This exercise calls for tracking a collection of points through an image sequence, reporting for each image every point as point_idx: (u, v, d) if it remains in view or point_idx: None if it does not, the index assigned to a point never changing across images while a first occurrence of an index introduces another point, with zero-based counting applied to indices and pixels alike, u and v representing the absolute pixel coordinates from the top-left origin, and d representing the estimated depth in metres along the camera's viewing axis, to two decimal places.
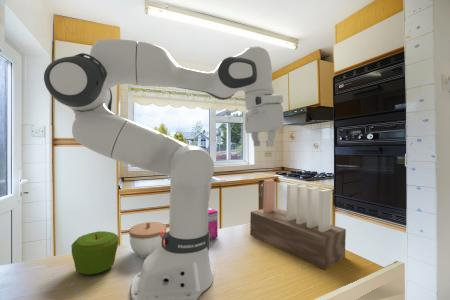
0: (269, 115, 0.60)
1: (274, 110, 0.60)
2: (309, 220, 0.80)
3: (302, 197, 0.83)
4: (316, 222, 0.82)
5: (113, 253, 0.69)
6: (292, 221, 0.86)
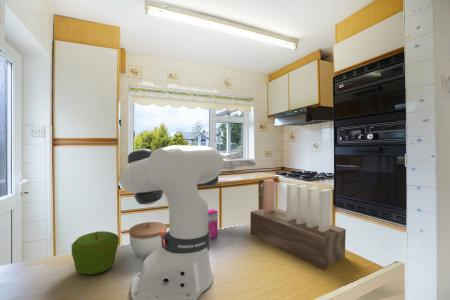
0: None
1: None
2: (309, 220, 0.80)
3: (302, 197, 0.83)
4: (316, 222, 0.82)
5: (113, 253, 0.69)
6: (292, 221, 0.86)
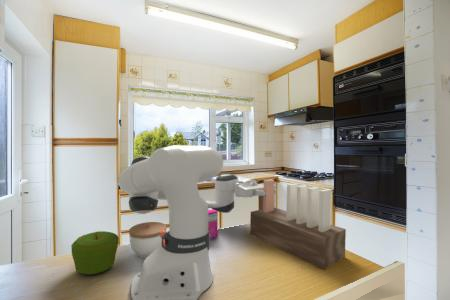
0: (240, 196, 0.99)
1: (239, 192, 1.00)
2: (309, 220, 0.80)
3: (302, 197, 0.83)
4: (316, 222, 0.82)
5: (113, 253, 0.69)
6: (292, 221, 0.86)
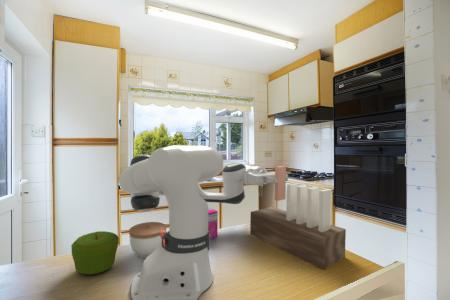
0: (251, 183, 0.94)
1: (248, 179, 0.95)
2: (309, 220, 0.80)
3: (302, 197, 0.83)
4: (316, 222, 0.82)
5: (113, 253, 0.69)
6: (292, 221, 0.86)
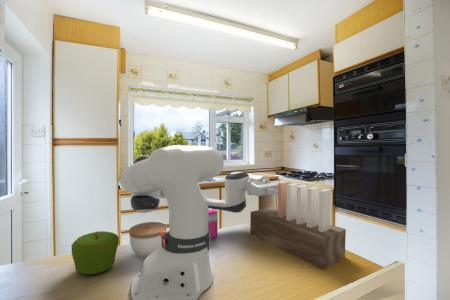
0: (253, 194, 0.93)
1: (251, 190, 0.94)
2: (309, 220, 0.80)
3: (302, 197, 0.83)
4: (316, 222, 0.82)
5: (113, 253, 0.69)
6: (292, 221, 0.86)
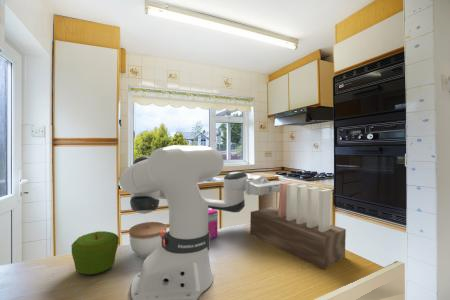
0: None
1: (250, 189, 0.95)
2: (309, 220, 0.80)
3: (302, 197, 0.83)
4: (316, 222, 0.82)
5: (113, 253, 0.69)
6: (292, 221, 0.86)
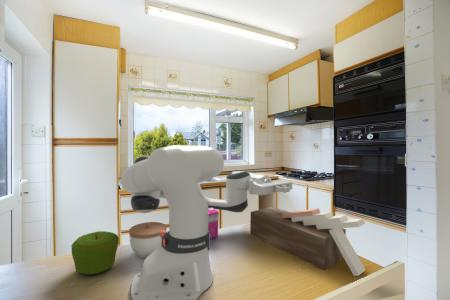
0: None
1: (253, 189, 0.93)
2: (323, 227, 0.76)
3: None
4: None
5: (113, 253, 0.69)
6: None
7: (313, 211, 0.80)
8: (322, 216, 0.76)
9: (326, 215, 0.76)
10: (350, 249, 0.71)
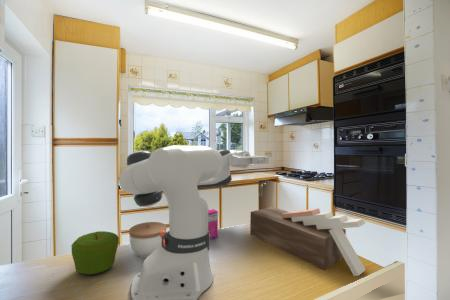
0: (234, 165, 1.03)
1: (232, 161, 1.04)
2: (323, 227, 0.76)
3: None
4: None
5: (113, 253, 0.69)
6: None
7: (313, 211, 0.80)
8: (322, 216, 0.76)
9: (326, 215, 0.76)
10: (350, 249, 0.71)
